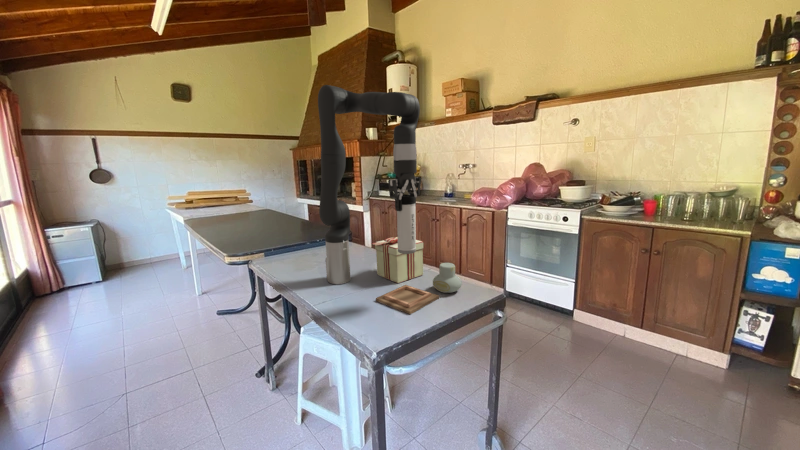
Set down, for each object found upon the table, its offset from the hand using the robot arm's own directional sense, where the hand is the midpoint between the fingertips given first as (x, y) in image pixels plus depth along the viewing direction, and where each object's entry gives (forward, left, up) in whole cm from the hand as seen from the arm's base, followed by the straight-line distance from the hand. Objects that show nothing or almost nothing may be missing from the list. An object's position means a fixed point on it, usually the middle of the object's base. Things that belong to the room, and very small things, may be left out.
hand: (405, 209), depth 109 cm
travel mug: (0, 0, -15) cm, 15 cm away
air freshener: (+6, +16, -33) cm, 37 cm away
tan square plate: (0, 0, -33) cm, 33 cm away
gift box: (-20, +16, -33) cm, 42 cm away
